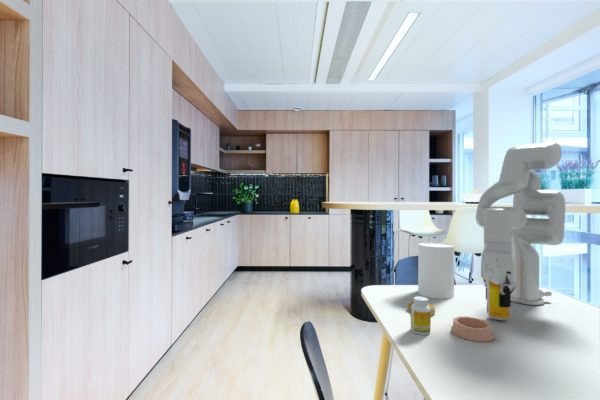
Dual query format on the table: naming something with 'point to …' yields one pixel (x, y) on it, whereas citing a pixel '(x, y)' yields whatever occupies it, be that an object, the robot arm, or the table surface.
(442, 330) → the table surface
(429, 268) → the canister
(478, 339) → the jar base
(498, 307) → the beer can
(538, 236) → the robot arm
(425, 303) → the supplement bottle
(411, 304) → the bread roll
